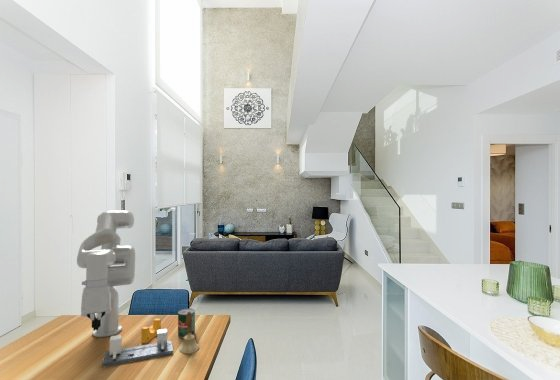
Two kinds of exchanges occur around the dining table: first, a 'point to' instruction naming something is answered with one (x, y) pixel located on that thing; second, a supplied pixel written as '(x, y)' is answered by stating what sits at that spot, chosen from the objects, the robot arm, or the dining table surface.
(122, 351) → the plate
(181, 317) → the canned tomato
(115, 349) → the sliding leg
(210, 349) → the dining table surface
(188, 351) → the hand bell
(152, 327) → the pipe clamp
